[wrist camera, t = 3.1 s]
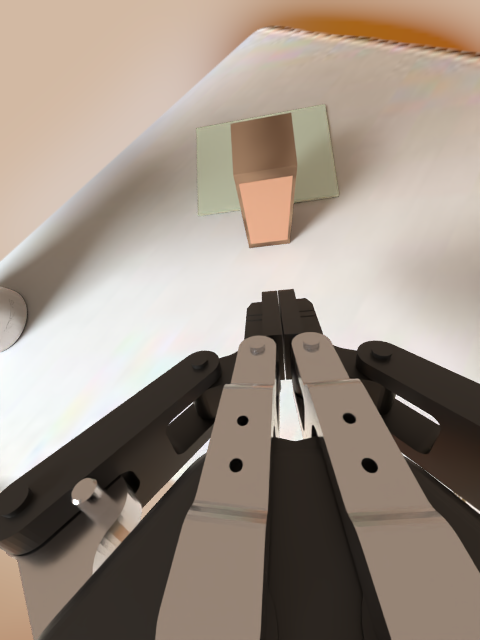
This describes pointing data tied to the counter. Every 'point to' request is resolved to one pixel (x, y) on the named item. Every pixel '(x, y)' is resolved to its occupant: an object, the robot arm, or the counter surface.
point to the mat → (311, 154)
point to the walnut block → (265, 177)
